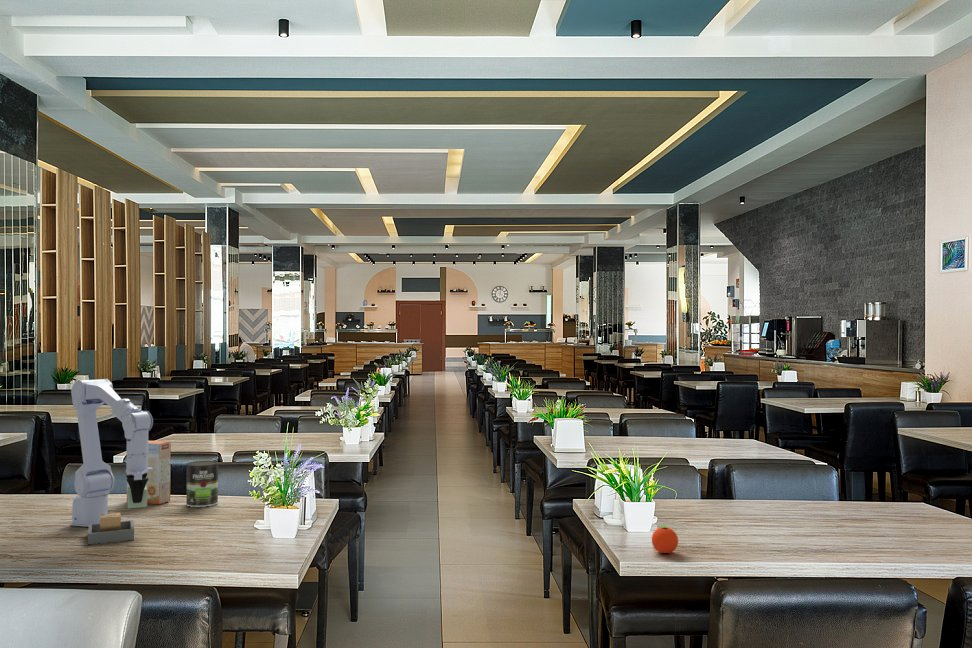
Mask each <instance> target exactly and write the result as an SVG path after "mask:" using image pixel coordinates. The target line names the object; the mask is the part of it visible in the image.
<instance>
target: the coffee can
mask: <svg viewBox="0 0 972 648" xmlns="http://www.w3.org/2000/svg"><path fill="white" fill-rule="evenodd" d="M219 464H220V463H219V462H218V461H216V460H198V461H197V460H196V461H190V462H187V463H186V497H185V498H186V502H185V503H186V504H185V505H187V506H186V507H188V506H190V507H189V508H193V507H202V508H207V507H206V506H210V507H214V506H216V504H217V505H218V504H219ZM213 505H214V506H213Z"/></svg>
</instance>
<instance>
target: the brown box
mask: <svg viewBox="0 0 972 648" xmlns="http://www.w3.org/2000/svg"><path fill="white" fill-rule="evenodd" d="M121 521H122V515H121V512H112V513H111V512H110V513H108V514H101V515H100V532H106V531H116V530H121Z"/></svg>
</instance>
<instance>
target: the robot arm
mask: <svg viewBox="0 0 972 648" xmlns="http://www.w3.org/2000/svg"><path fill="white" fill-rule="evenodd" d="M70 393H71V400H72V401H71V402H72V407H73V409H75V410H76V414H77V415H76V416H77V423H78V424H77V425H78V430H79V431H78V433H79V437H80V438H79V440H80V447H81V455H82V462H83V464H81V466H80V467H79V468H78V469H77V470H76V471H75V472H74V490H75V492H76V494H77V495H76V496H75V497H74V499H73V500H72V503H71V505H72V507H71V509H72V510H71V512H72V514H71V516H72V517H71V518H72V519H71V523H69V526H75V527H86V528H89V524H98V523H100V515H101V514H109V513H108V511H109V509H108V508H109V507H108V505H109V504H108V503H109V502H108V501H109V500H108V499H109V498H108V497H109V496H108V494H111V491H112V490H113V488H114V486H115V483H116V481H115V480H116V479H115V476H114V473H113V472H112V467H111V465H109V464H108V463H106V462H104V460H103V457H102V456H103V455H102V449H101V441H100V434H99V433H100V432H99V428H98V418H97V411H98V408H100V407H102V406H103V405H104V404H106V405H108V406H109V407H110V408H111V413H112V414H113V416H114V417H115V418H117V419H118V420H119V421H120V422H121V423H122V428H123V431H124V438H125V439H126V463H125V465H126V466H125V467H126V469H125V473H126V475H125V476H126V483H127V482H128V484H129V486H130V489H131V494H132V500H133V503H141V501H142V498H143V492H144V488H145V485H146V483H147V481H148V478H146V476H147V473H146V472H148V471H152V467H148V441H149V432H150V431H151V429H152V428H153V425H154V418H153V416H152V413H150V411H149V410H140V408H138V407H137V406H136V405H135V404H134V403H132V402H131V399H129V398H121V396H119V394H118V393H117V392H116V391H115V390H114V386H113V383H112V382H111V381H110V379H108V378H102V379H83V380H81V379H77V380H76V381H75V382H74V383H73V384H72V387H71V388H70ZM127 473H128V474H129V475H127Z"/></svg>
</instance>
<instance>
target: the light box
mask: <svg viewBox="0 0 972 648" xmlns="http://www.w3.org/2000/svg"><path fill="white" fill-rule="evenodd" d="M146 507H148V504H147V486H145V488H144V492H143V498H142V501H141V503H133V500H132V494H131V489H130V487H128V502H127V509H134V508H136V509H137V508H146Z"/></svg>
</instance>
